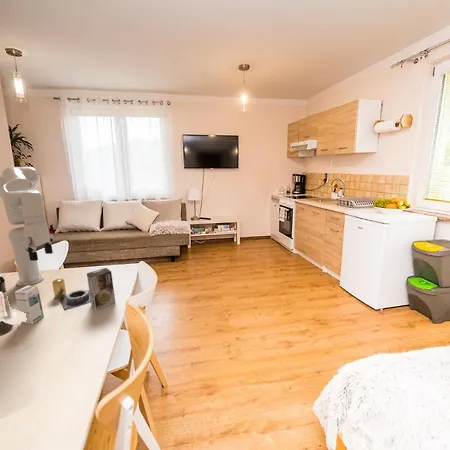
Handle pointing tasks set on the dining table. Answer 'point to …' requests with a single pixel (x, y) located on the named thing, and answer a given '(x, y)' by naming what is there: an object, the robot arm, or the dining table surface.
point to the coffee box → (101, 288)
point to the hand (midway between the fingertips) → (42, 256)
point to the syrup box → (29, 303)
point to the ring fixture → (75, 299)
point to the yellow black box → (59, 288)
